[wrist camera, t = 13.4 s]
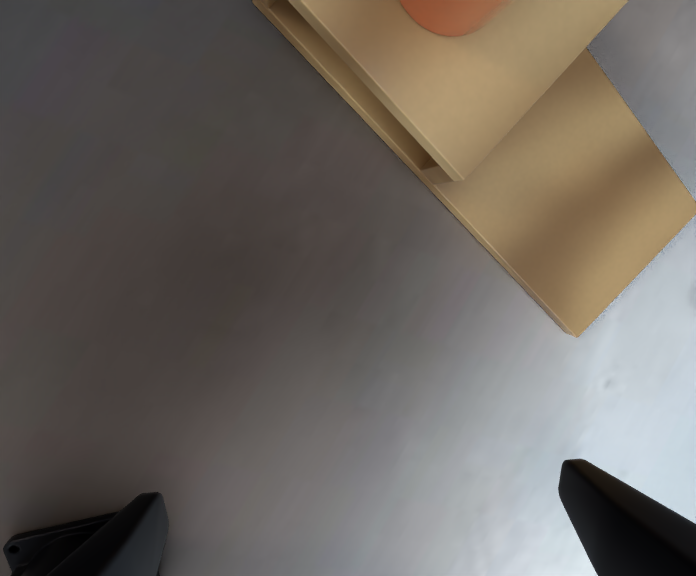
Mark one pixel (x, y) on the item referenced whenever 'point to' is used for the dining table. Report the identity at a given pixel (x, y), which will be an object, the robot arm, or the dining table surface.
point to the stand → (509, 136)
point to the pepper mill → (454, 14)
